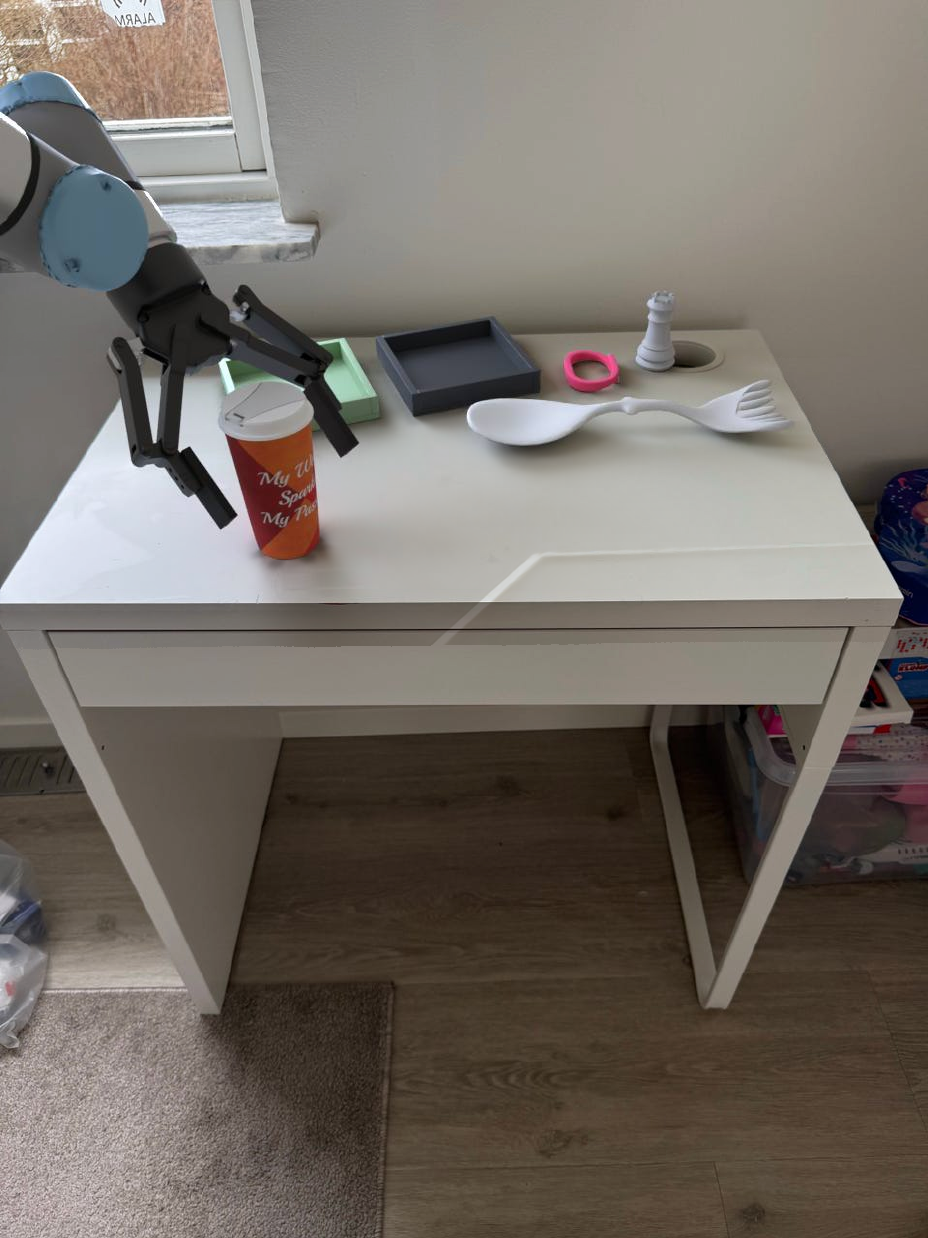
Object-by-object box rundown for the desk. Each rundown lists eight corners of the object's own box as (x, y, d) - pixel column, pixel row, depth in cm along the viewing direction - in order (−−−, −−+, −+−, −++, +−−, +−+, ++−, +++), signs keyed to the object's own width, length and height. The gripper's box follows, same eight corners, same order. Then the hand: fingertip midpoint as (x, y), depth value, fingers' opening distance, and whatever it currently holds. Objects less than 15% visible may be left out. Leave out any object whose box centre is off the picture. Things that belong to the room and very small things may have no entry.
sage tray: (242, 444, 97) (238, 422, 95) (222, 380, 107) (217, 359, 106) (379, 417, 100) (377, 395, 99) (346, 358, 111) (344, 337, 109)
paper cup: (288, 578, 81) (261, 436, 71) (227, 546, 84) (194, 406, 75) (350, 533, 85) (332, 394, 76) (289, 504, 89) (265, 368, 80)
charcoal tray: (413, 416, 101) (411, 394, 99) (377, 356, 111) (375, 336, 109) (540, 391, 104) (540, 370, 102) (493, 336, 114) (493, 315, 112)
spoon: (789, 449, 94) (796, 419, 92) (468, 459, 94) (467, 429, 92) (765, 404, 101) (771, 374, 98) (466, 413, 101) (465, 384, 98)
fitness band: (623, 392, 103) (624, 379, 102) (569, 394, 103) (570, 382, 102) (610, 357, 109) (611, 345, 108) (560, 359, 109) (561, 347, 108)
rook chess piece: (680, 359, 109) (690, 292, 103) (665, 376, 106) (674, 307, 100) (644, 350, 110) (652, 284, 105) (628, 366, 108) (635, 298, 102)
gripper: (245, 244, 87) (376, 439, 90) (-4, 342, 73) (158, 569, 76) (274, 196, 81) (413, 407, 84) (7, 293, 67) (184, 543, 70)
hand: (292, 485), depth 80 cm, fingers open, 13 cm apart
